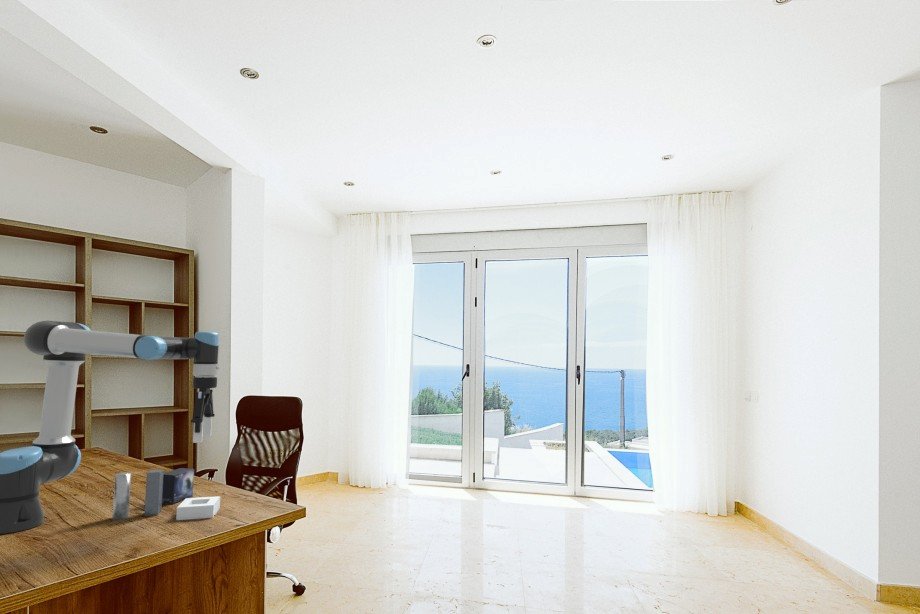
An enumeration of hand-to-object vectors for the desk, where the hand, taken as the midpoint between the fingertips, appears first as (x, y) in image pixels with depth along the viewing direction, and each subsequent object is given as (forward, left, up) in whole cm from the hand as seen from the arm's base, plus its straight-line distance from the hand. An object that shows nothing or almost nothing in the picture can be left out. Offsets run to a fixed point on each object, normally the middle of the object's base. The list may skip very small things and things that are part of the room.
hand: (202, 439), depth 176 cm
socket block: (0, 0, -25) cm, 25 cm away
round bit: (-24, +2, -25) cm, 34 cm away
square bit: (-15, +4, -25) cm, 29 cm away
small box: (-12, +20, -25) cm, 34 cm away
